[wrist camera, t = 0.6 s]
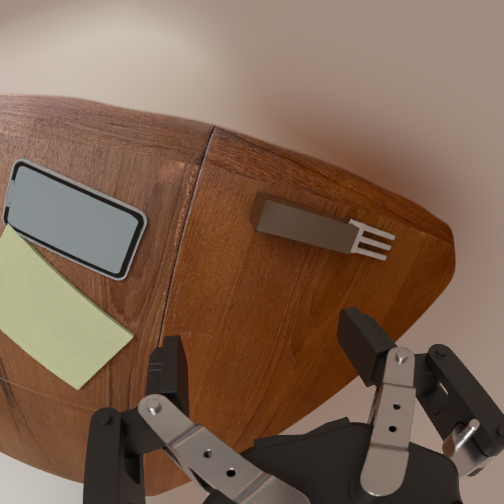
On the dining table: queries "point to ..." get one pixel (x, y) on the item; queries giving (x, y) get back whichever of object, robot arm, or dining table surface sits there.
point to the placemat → (53, 315)
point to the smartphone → (73, 219)
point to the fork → (315, 226)
